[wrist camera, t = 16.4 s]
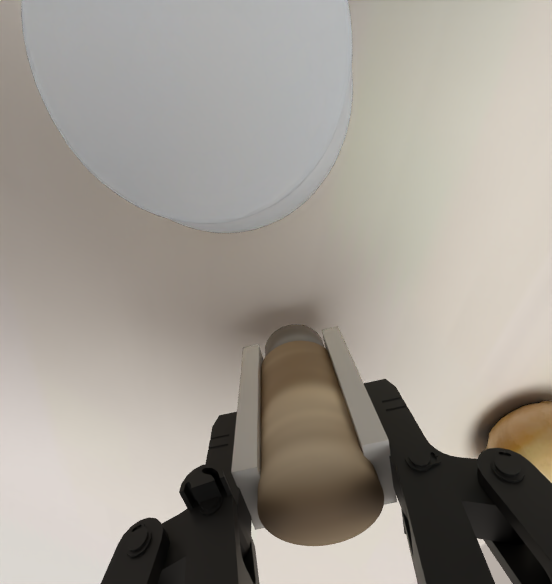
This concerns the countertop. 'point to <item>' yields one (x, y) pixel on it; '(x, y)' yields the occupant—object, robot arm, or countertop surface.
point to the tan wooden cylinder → (310, 447)
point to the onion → (527, 435)
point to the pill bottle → (198, 100)
